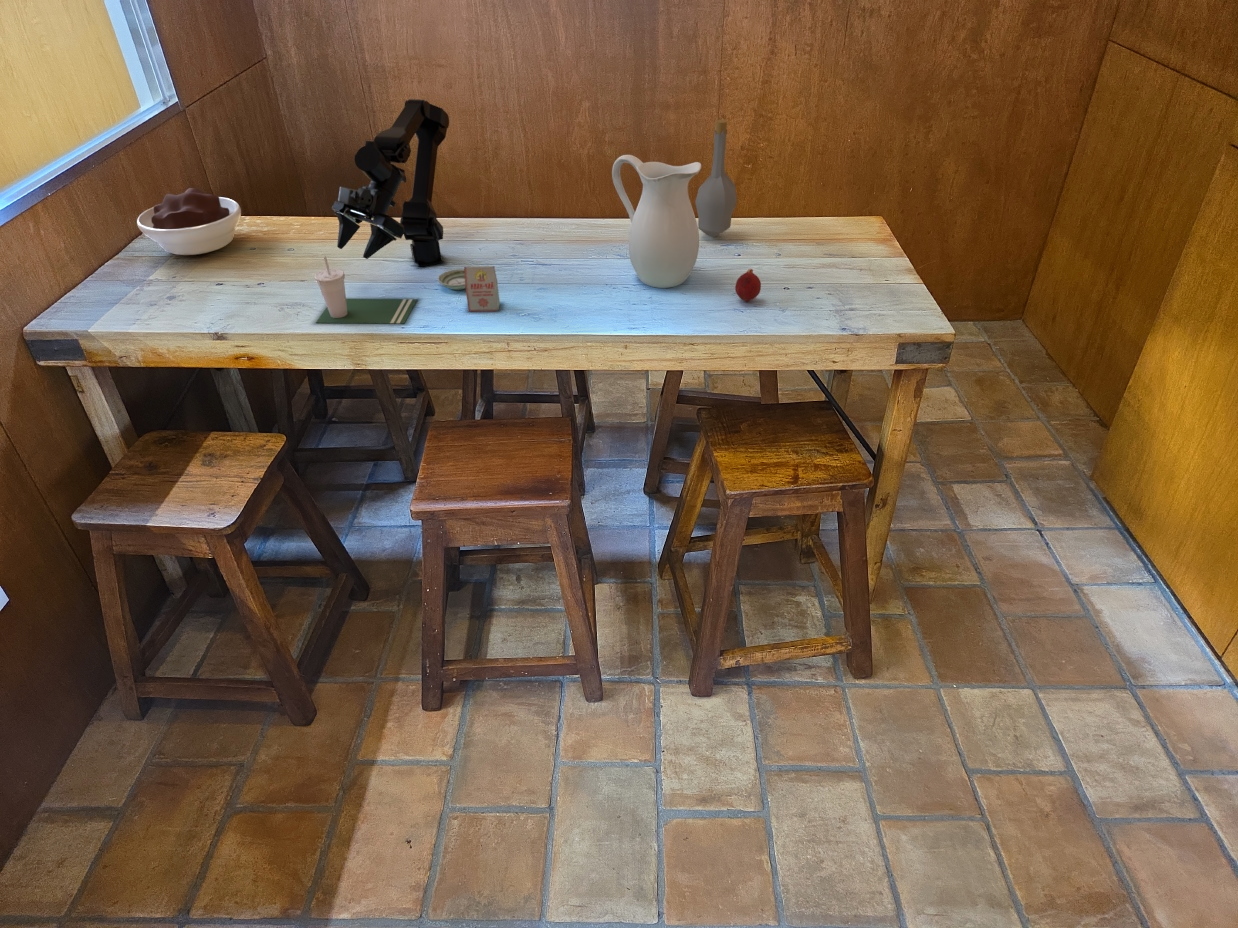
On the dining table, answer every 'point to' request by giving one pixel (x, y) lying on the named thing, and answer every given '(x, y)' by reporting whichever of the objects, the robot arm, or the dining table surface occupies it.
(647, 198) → the pitcher
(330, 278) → the smoothie
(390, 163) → the robot arm
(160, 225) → the bowl of brown food
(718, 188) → the bottle
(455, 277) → the saucer
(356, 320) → the cloth
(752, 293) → the onion
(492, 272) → the tan food box
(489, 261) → the dining table surface
